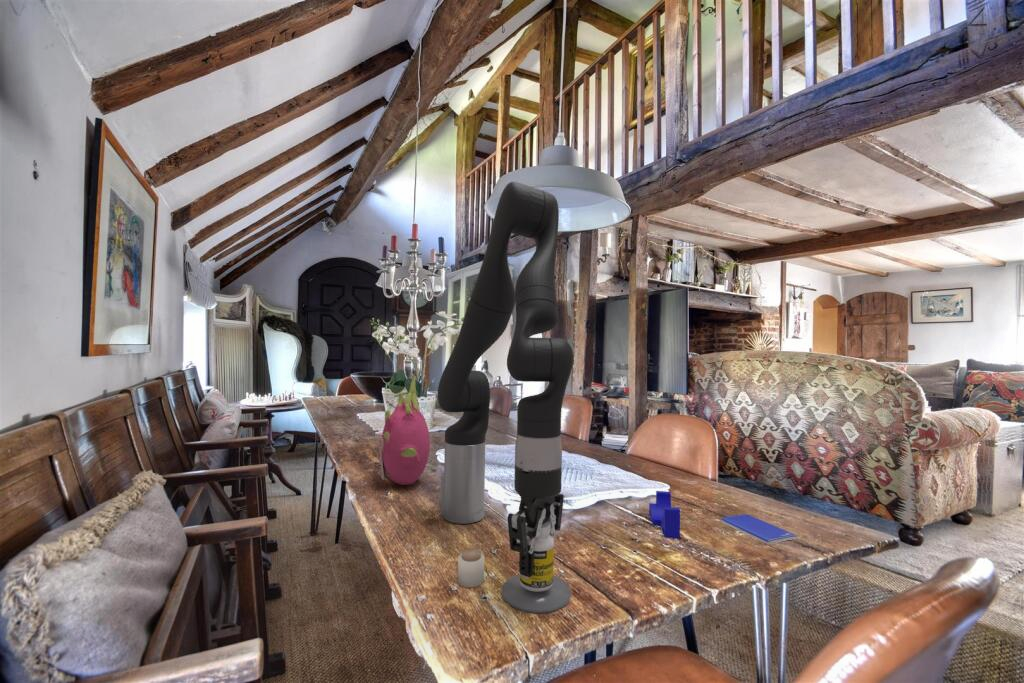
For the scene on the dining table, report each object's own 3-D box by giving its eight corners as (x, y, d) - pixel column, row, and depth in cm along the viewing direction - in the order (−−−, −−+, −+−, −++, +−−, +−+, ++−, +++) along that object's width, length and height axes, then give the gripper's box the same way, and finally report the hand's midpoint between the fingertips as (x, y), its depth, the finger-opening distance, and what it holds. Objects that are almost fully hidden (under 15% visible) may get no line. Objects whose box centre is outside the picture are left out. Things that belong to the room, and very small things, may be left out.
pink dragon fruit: (377, 476, 136) (379, 373, 136) (425, 473, 140) (426, 373, 140) (379, 496, 119) (381, 379, 119) (433, 492, 123) (435, 378, 123)
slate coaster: (488, 597, 73) (488, 593, 73) (525, 569, 83) (525, 566, 83) (549, 622, 67) (549, 617, 67) (582, 588, 76) (582, 585, 76)
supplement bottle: (530, 596, 71) (531, 532, 71) (513, 579, 76) (514, 519, 76) (560, 588, 74) (561, 526, 74) (542, 572, 79) (543, 514, 79)
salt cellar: (452, 582, 78) (452, 553, 78) (469, 571, 82) (469, 544, 82) (472, 590, 76) (473, 560, 75) (489, 579, 79) (489, 550, 79)
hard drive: (797, 534, 97) (748, 513, 109) (768, 539, 94) (721, 517, 106) (797, 542, 97) (748, 520, 109) (768, 547, 94) (721, 524, 106)
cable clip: (649, 516, 109) (649, 490, 109) (668, 517, 109) (669, 491, 109) (657, 537, 98) (657, 508, 98) (679, 539, 97) (680, 510, 97)
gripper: (540, 450, 83) (538, 545, 83) (492, 468, 71) (490, 579, 71) (579, 456, 79) (577, 556, 79) (535, 477, 67) (533, 594, 67)
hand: (536, 566), depth 75 cm, fingers closed on supplement bottle, 5 cm apart
